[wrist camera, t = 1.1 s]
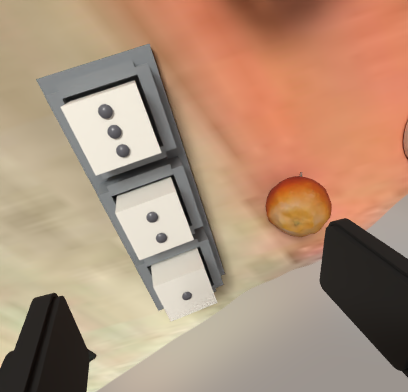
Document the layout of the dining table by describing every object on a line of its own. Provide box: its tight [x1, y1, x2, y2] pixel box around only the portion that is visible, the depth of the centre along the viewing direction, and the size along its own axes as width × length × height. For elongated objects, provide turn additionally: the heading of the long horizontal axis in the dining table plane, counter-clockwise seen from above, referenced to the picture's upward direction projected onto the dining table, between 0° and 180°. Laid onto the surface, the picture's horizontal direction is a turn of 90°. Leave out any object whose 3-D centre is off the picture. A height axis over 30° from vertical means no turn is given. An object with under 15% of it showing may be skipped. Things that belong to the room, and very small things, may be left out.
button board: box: [36, 44, 225, 310], centre depth 33 cm, size 11×31×4 cm, turn 16°
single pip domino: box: [151, 248, 217, 321], centre depth 34 cm, size 6×6×4 cm
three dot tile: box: [61, 80, 161, 176], centre depth 25 cm, size 6×6×4 cm
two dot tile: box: [115, 176, 194, 260], centre depth 29 cm, size 6×6×4 cm
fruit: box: [266, 172, 332, 237], centre depth 37 cm, size 8×8×8 cm
